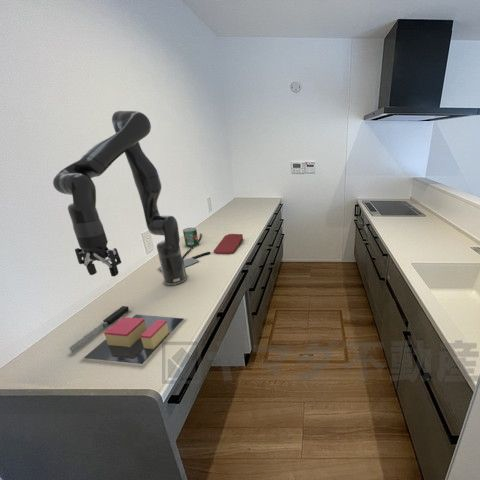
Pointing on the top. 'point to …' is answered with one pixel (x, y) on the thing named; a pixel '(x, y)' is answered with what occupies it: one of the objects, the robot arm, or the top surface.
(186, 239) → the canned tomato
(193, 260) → the cleaver
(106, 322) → the knife
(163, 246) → the robot arm
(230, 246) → the red slab
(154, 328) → the cake slice
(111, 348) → the slate board
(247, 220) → the top surface
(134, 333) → the cake
